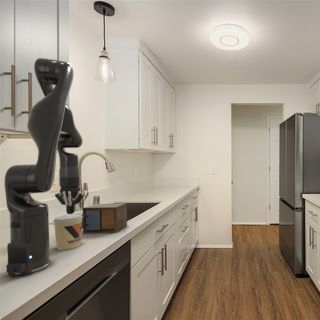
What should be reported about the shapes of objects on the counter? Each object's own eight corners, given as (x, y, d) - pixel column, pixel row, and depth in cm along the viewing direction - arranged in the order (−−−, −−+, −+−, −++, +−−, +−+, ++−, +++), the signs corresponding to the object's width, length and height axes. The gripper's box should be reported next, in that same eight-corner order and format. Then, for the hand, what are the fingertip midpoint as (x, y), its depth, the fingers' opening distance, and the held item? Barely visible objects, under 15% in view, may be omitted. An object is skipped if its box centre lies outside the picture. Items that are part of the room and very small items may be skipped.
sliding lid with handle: (94, 232, 108) (94, 212, 108) (80, 232, 108) (79, 212, 108) (100, 229, 112) (100, 209, 112) (86, 229, 112) (86, 210, 112)
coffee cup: (68, 251, 89) (67, 219, 89) (48, 250, 91) (47, 219, 91) (88, 242, 98) (87, 214, 98) (70, 241, 100) (69, 213, 100)
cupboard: (116, 232, 111) (116, 207, 111) (83, 233, 112) (82, 207, 111) (127, 226, 121) (126, 203, 121) (96, 227, 122) (95, 203, 121)
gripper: (48, 177, 105) (49, 216, 105) (78, 176, 104) (79, 215, 105) (61, 175, 112) (62, 212, 112) (89, 175, 112) (90, 211, 112)
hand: (70, 213), depth 108 cm, fingers closed
